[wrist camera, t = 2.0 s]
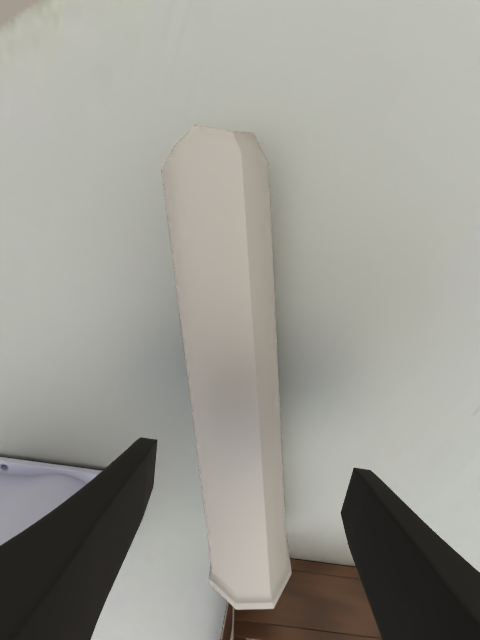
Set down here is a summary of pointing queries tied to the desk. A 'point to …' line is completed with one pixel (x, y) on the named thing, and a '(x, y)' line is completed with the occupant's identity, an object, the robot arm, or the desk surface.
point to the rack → (309, 608)
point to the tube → (231, 355)
